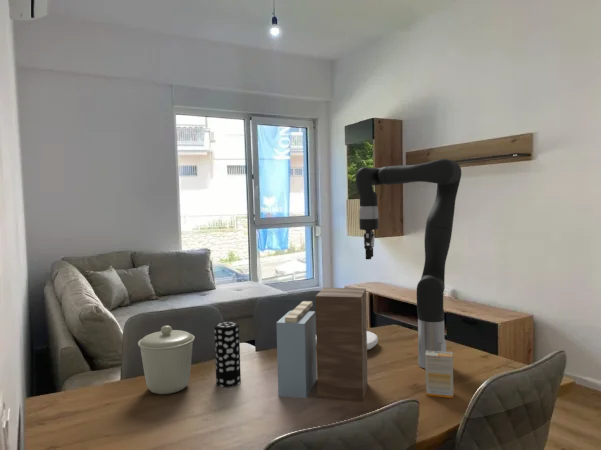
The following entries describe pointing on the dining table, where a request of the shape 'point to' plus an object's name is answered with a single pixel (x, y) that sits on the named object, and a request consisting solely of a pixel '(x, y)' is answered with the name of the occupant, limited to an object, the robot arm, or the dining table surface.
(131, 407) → the dining table surface
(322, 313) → the walnut box
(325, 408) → the dining table surface
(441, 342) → the robot arm
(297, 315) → the slat
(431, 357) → the supplement box
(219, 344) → the white-spotted black cylinder
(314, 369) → the gray rectangular box
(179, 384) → the canister
